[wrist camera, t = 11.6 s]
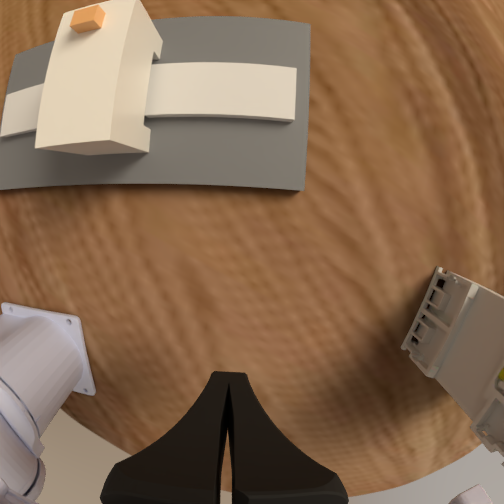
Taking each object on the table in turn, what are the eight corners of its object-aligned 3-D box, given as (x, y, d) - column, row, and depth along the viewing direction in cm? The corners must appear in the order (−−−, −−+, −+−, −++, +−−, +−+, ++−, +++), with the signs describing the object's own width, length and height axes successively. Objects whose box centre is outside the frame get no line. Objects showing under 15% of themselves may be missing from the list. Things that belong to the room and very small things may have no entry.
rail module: (87, 155, 17) (23, 146, 10) (103, 49, 15) (55, 6, 8) (148, 152, 17) (100, 136, 10) (162, 41, 15) (131, -15, 8)
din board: (3, 189, 18) (-11, 190, 16) (21, 57, 15) (10, 52, 13) (300, 190, 19) (306, 191, 17) (307, 30, 16) (312, 18, 15)
